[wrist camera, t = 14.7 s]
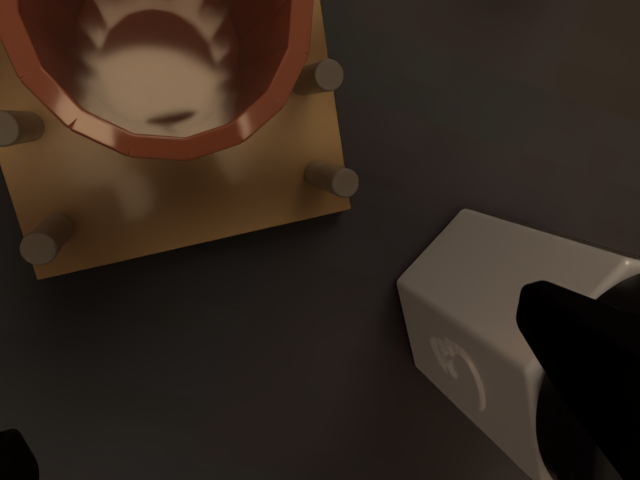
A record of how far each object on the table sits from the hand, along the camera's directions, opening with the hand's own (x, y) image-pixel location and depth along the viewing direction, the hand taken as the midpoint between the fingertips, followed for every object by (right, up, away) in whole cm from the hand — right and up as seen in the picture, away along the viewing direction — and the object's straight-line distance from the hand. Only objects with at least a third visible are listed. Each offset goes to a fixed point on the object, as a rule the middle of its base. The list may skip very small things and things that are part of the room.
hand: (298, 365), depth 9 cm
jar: (+8, 0, +17) cm, 18 cm away
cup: (-5, +9, +9) cm, 14 cm away
